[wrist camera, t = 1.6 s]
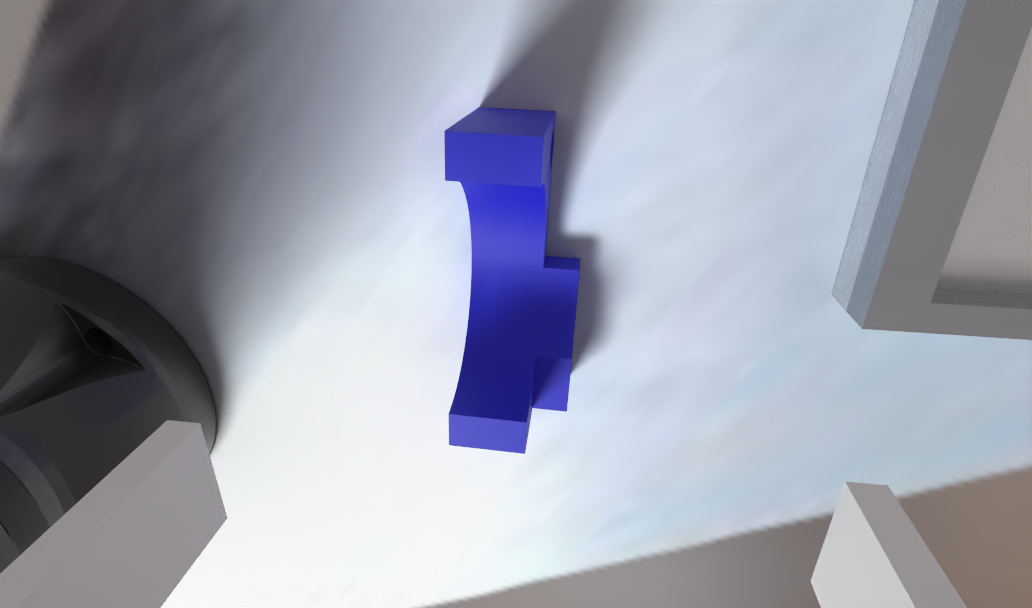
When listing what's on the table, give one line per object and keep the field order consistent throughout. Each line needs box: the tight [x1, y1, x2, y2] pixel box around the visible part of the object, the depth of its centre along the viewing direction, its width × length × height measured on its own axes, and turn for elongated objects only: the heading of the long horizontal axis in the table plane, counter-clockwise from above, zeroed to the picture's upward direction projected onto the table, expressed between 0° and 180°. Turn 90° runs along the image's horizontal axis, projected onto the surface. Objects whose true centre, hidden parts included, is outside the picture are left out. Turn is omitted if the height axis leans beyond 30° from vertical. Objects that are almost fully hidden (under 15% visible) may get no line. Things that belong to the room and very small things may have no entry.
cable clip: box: [445, 107, 580, 454], centre depth 22 cm, size 12×4×6 cm, turn 178°
